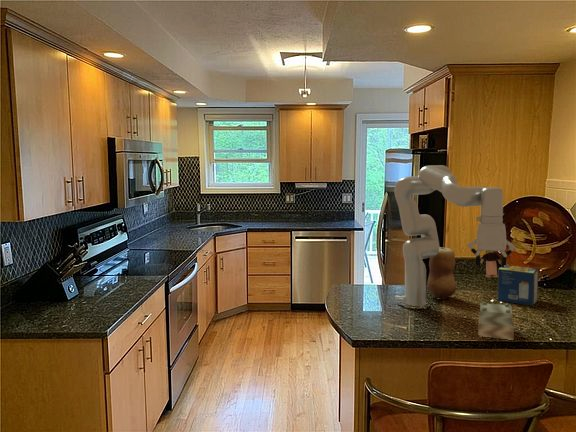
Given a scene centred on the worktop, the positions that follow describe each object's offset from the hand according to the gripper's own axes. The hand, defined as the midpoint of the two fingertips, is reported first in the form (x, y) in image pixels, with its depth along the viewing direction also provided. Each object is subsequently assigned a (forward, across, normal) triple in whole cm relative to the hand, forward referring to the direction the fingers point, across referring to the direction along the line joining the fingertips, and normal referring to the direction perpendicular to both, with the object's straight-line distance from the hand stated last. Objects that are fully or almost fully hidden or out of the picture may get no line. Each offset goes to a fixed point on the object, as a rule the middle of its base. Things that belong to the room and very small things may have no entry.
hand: (490, 266), depth 173 cm
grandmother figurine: (+4, 0, 0) cm, 4 cm away
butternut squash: (+26, -22, +43) cm, 55 cm away
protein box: (+26, +12, +50) cm, 58 cm away
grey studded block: (+26, +2, 0) cm, 26 cm away
